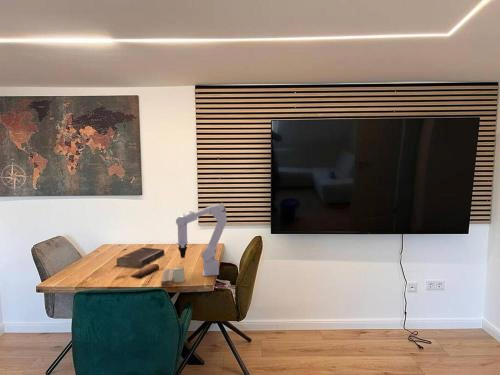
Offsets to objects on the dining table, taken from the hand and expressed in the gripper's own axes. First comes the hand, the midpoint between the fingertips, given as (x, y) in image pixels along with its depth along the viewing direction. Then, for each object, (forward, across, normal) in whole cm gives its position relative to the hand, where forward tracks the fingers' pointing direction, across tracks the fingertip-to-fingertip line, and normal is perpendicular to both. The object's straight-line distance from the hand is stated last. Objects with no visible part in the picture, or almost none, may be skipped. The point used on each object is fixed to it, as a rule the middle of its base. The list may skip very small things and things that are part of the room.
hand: (182, 256), depth 193 cm
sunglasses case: (+11, -2, -24) cm, 26 cm away
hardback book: (+11, -30, -29) cm, 43 cm away
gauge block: (+10, +15, -2) cm, 18 cm away
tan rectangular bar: (+10, +11, -9) cm, 17 cm away
